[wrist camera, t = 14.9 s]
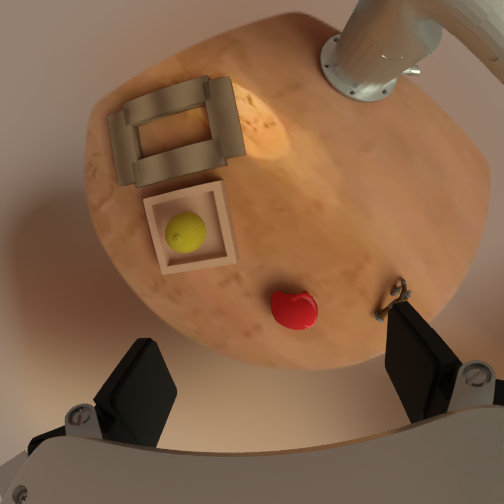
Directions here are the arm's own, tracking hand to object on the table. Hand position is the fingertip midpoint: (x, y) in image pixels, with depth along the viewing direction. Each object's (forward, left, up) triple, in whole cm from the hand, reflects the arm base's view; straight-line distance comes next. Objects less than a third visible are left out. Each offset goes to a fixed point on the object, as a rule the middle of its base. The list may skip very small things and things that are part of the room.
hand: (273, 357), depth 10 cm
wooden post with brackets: (-18, +17, -33) cm, 41 cm away
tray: (+12, -1, -32) cm, 34 cm away
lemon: (+12, -1, -32) cm, 34 cm away
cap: (-1, +14, -33) cm, 36 cm away
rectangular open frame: (+12, -16, -32) cm, 38 cm away
